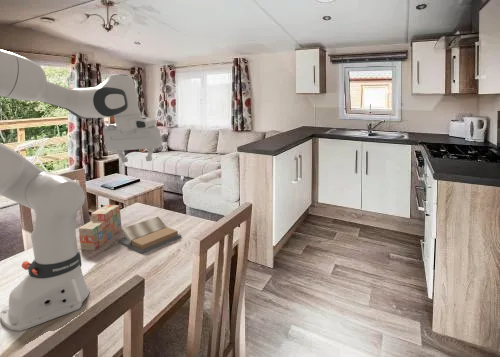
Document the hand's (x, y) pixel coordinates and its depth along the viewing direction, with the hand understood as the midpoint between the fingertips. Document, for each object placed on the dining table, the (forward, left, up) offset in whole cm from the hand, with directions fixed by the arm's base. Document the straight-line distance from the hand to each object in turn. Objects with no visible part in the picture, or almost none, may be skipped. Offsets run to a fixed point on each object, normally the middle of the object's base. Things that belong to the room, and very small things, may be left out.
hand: (137, 161), depth 118 cm
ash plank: (+10, +15, -34) cm, 38 cm away
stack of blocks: (-2, +28, -38) cm, 47 cm away
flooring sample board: (+10, +11, -37) cm, 40 cm away
